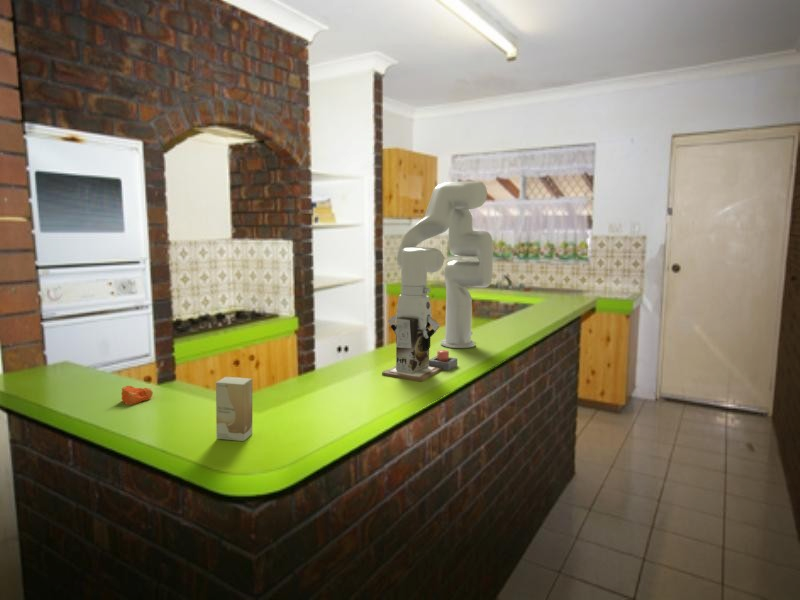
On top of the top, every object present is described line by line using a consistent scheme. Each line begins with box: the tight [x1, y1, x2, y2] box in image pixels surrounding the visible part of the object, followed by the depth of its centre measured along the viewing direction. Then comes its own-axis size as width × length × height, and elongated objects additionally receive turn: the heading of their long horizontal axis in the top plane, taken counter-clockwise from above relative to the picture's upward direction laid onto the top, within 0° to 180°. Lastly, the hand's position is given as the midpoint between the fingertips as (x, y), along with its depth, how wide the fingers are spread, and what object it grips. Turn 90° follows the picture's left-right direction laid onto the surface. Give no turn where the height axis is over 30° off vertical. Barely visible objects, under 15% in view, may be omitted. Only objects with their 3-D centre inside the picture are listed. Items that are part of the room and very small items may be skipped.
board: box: [381, 365, 443, 382], centre depth 159 cm, size 14×13×1 cm
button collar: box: [429, 355, 458, 372], centre depth 166 cm, size 7×7×2 cm
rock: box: [121, 385, 154, 406], centre depth 131 cm, size 12×12×4 cm
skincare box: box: [215, 376, 253, 442], centre depth 109 cm, size 6×4×12 cm
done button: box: [436, 349, 450, 362], centre depth 166 cm, size 4×4×3 cm
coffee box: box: [395, 317, 430, 374], centre depth 158 cm, size 9×6×16 cm
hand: (412, 348), depth 158 cm, fingers open, 8 cm apart
